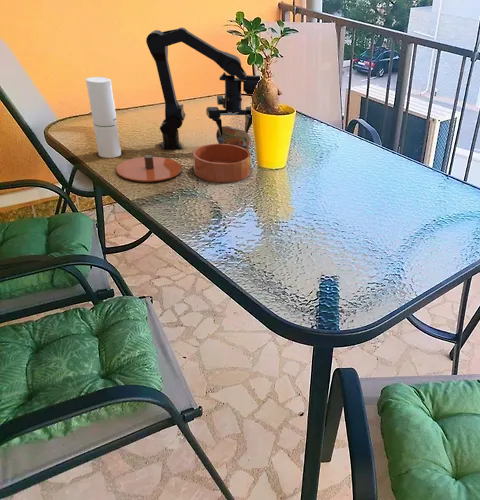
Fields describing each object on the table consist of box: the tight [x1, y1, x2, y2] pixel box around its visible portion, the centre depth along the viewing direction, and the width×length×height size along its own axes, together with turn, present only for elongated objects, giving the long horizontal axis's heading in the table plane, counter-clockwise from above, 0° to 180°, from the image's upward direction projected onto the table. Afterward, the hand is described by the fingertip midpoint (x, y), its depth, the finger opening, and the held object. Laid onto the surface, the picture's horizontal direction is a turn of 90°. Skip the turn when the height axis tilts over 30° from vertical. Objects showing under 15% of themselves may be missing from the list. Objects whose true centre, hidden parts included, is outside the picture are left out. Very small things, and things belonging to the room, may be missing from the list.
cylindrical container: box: [85, 76, 122, 159], centre depth 155 cm, size 7×7×25 cm
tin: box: [215, 125, 252, 151], centre depth 177 cm, size 15×3×8 cm, turn 62°
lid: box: [116, 154, 182, 182], centre depth 152 cm, size 20×20×5 cm
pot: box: [192, 143, 252, 183], centre depth 159 cm, size 19×19×6 cm
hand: (233, 135), depth 176 cm, fingers open, 9 cm apart
